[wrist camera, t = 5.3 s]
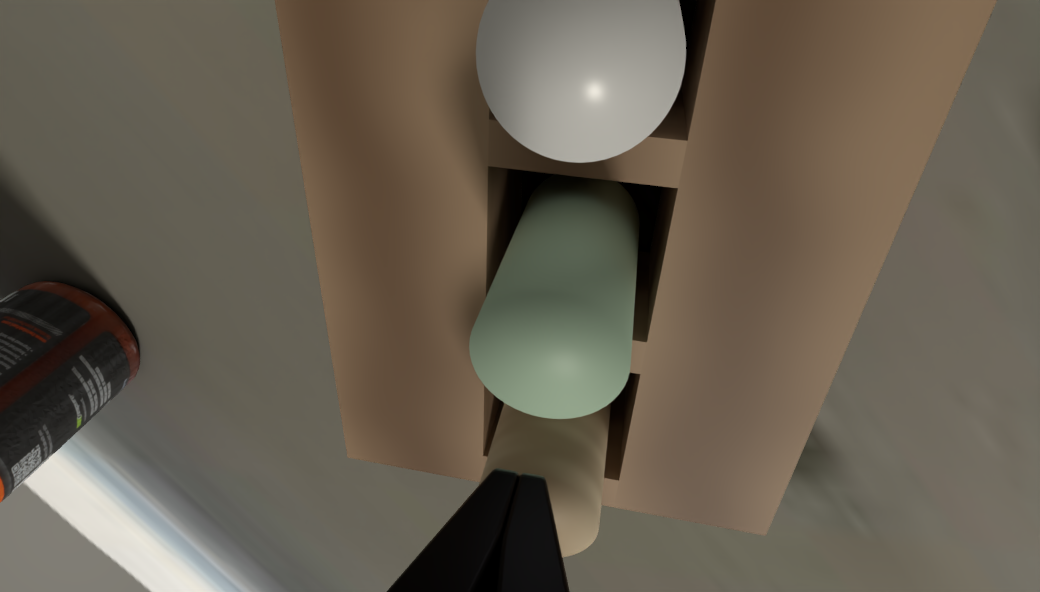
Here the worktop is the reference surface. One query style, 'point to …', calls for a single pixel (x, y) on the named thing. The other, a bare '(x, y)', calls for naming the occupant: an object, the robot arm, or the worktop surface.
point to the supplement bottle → (55, 371)
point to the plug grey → (580, 72)
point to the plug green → (562, 302)
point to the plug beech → (558, 466)
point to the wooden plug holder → (661, 273)
